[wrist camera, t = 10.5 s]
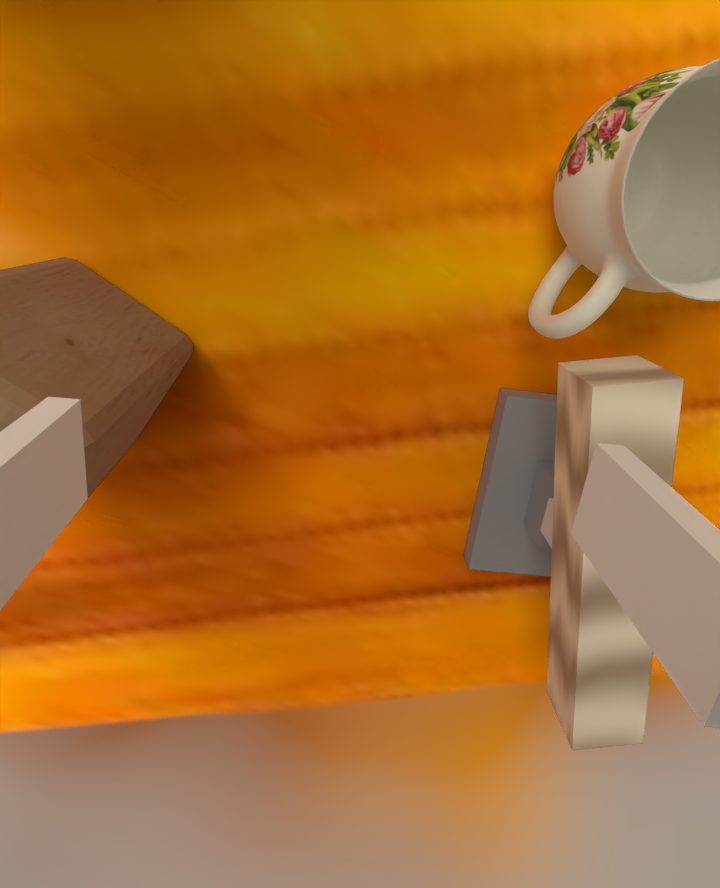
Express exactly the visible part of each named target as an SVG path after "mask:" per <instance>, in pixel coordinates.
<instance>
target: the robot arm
mask: <svg viewBox="0 0 720 888" xmlns="http://www.w3.org/2000/svg"><path fill="white" fill-rule="evenodd" d="M87 499H88V496H87V482H86V468H85V455H84V441H83V427H82V413H81V400H80V399H71V398H59V397H47V398H46V399H44V400H43V401H42V402H40V403H39V404H37V405H36V406H35V407H33V408H32V409H31V410H29V411H28V412H27V413H25V414H24V415H23V416H21V417H20V418H19V419H17V420H16V421H14V422H13V423H12V424H10V425H9V426H8V427H6V428H5V429H4V430H2V431H1V432H0V610H1V609H2V608H3V606H4V605H5V604H6V603H7V601H8V600H9V599H10V597H11V596H12V595H13V594H14V592H15V591H16V590H17V588H18V587H19V586H20V585H21V583H22V582H23V581H24V580H25V578H26V577H27V576H28V574H29V573H30V572H31V571H32V569H33V568H34V567H35V565H36V564H37V563H38V562H39V560H40V559H41V558H42V557H43V555H44V554H45V553H46V551H47V550H48V549H49V548H50V546H51V545H52V544H53V542H54V541H55V540H56V539H57V537H58V536H59V535H60V534H61V532H62V531H63V530H64V528H65V527H66V526H67V525H68V523H69V522H70V521H71V519H72V518H73V517H74V516H75V514H76V513H77V512H78V511H79V509H80V508H81V507H82V505H83V504H84V503H85V502H86V500H87ZM571 534H572V536H573V537H574V539H575V540H576V542H577V543H578V544H579V546H580V547H581V549H582V550H583V552H584V553H585V555H586V556H587V557H588V559H589V560H590V562H591V563H592V565H593V566H594V568H595V569H596V571H597V572H598V573H599V575H600V576H601V578H602V579H603V581H604V582H605V584H606V585H607V587H608V588H609V589H610V591H611V592H612V594H613V595H614V597H615V598H616V600H617V601H618V603H619V604H620V605H621V607H622V608H623V610H624V611H625V613H626V614H627V616H628V617H629V619H630V620H631V621H632V623H633V624H634V626H635V627H636V629H637V630H638V632H639V633H640V635H641V636H642V637H643V639H644V640H645V642H646V643H647V645H648V646H649V648H650V649H651V651H652V652H653V653H654V655H655V656H656V658H657V659H658V661H659V662H660V664H661V665H662V666H663V668H664V669H665V671H666V672H667V674H668V675H669V677H670V678H671V680H672V681H673V682H674V684H675V685H676V687H677V688H678V690H679V691H680V692H681V694H682V695H683V697H684V698H685V700H686V701H687V703H688V704H689V706H690V707H691V709H692V710H693V711H694V713H695V714H696V716H697V717H698V719H699V720H700V722H701V723H702V725H703V726H704V727H713V728H720V530H719V529H718V528H717V527H716V526H714V525H713V524H712V523H711V522H710V521H709V520H708V519H707V518H705V517H704V516H703V515H702V514H701V513H700V512H699V511H698V510H696V509H695V508H694V507H693V506H692V505H691V504H690V503H689V502H687V501H686V500H685V499H684V498H683V497H682V496H681V495H680V494H678V493H677V492H676V491H675V490H674V489H673V488H672V487H671V486H669V485H668V484H667V483H666V482H665V481H664V480H663V479H661V478H660V477H659V476H658V475H657V474H656V473H655V472H654V471H652V470H651V469H650V468H649V467H648V466H647V465H646V464H645V463H643V462H642V461H641V460H640V459H639V458H638V457H637V456H636V455H634V454H633V453H632V452H631V451H630V450H629V449H628V448H627V447H625V446H624V445H614V444H602V443H596V445H595V449H594V452H593V456H592V460H591V463H590V467H589V470H588V474H587V478H586V481H585V485H584V489H583V492H582V496H581V499H580V503H579V507H578V510H577V514H576V518H575V521H574V525H573V528H572V532H571Z"/></svg>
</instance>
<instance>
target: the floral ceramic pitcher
mask: <svg viewBox="0 0 720 888" xmlns="http://www.w3.org/2000/svg"><path fill="white" fill-rule="evenodd" d="M553 198H554V212H555V217H556V222H557V225H558V228H559V231H560V233H561V235H562V237H563V239H564V241H565V243H566V244H567V246H566V248H565V250H564V251H563V253H562V254H561V255H560V256H559V258H558V259H557V260H556V262H555V263H554V264H553V266H552V267H551V268H550V270H549V271H548V272H547V274H546V275H545V277H544V278H543V280H542V281H541V283H540V284H539V286H538V288H537V290H536V292H535V294H534V296H533V298H532V300H531V303H530V306H529V310H528V317H529V323H530V324H531V326H532V327H533V328H534V329H535V330H536V331H537V332H538V333H539V334H541V335H542V336H544V337H546V338H552V339H560V338H566V337H569V336H572V335H574V334H576V333H578V332H580V331H582V330H584V329H585V328H586V327H588V326H589V325H591V324H592V323H593V322H594V321H596V320H597V319H598V318H599V317H600V316H601V315H602V314H603V313H604V312H605V311H606V310H607V309H608V308H609V306H610V305H611V304H612V303H613V301H614V300H615V299H616V297H617V296H618V295H619V293H620V291H621V290H622V288H623V287H624V288H628V289H632V290H636V291H643V292H653V293H664V292H673V293H675V294H677V295H680V296H682V297H686V298H690V299H694V300H701V301H720V58H719V59H717V60H715V61H713V62H711V63H708V64H706V65H705V66H691V67H684V68H679V69H674V70H670V71H666V72H663V73H660V74H657V75H654V76H651V77H648V78H646V79H644V80H642V81H640V82H638V83H635V84H633V85H631V86H629V87H628V88H626V89H625V90H623V91H621V92H620V93H618V94H617V95H615V96H614V97H612V98H611V99H609V100H608V101H607V102H606V103H605V104H604V105H602V106H601V107H600V108H599V109H598V110H596V111H595V112H594V113H593V114H592V115H591V116H590V117H589V118H588V120H587V121H586V122H585V123H584V124H583V125H582V127H581V128H580V129H579V131H578V132H577V133H576V135H575V136H574V137H573V139H572V141H571V142H570V144H569V146H568V147H567V149H566V151H565V153H564V156H563V158H562V160H561V163H560V166H559V169H558V172H557V175H556V180H555V185H554V197H553ZM581 265H584V266H585V267H586V268H588V269H589V270H590V271H591V272H592V273H594V274H596V275H597V276H599V277H598V279H597V280H596V282H595V283H594V285H593V286H592V287H591V289H590V290H589V291H588V292H587V293H586V294H585V295H584V296H583V298H582V299H581V300H579V301H578V302H577V303H576V304H575V305H573V306H572V307H571V308H569V309H567V310H566V311H564V312H562V313H559V314H556V315H551V312H552V309H553V306H554V304H555V302H556V300H557V298H558V296H559V294H560V292H561V290H562V288H563V287H564V285H565V284H566V282H567V281H568V280H569V278H570V277H571V276H572V274H573V273H574V272H575V271H576V270H577V268H578V267H579V266H581Z"/></svg>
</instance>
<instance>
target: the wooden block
mask: <svg viewBox="0 0 720 888" xmlns="http://www.w3.org/2000/svg"><path fill="white" fill-rule="evenodd" d="M192 350H193V343H192V342H191V341H190V339H189V338H188V336H187V335H186V334H184V333H183V332H182V331H180V330H179V329H177V328H176V327H174V326H173V325H171V324H170V323H168V322H167V321H165V320H164V319H162V318H161V317H159V316H158V315H156V314H155V313H153V312H152V311H151V310H149V309H148V308H146V307H145V306H143V305H142V304H140V303H139V302H137V301H136V300H134V299H133V298H131V297H130V296H128V295H127V294H125V293H124V292H122V291H121V290H119V289H118V288H117V287H115V286H114V285H112V284H111V283H109V282H108V281H106V280H105V279H103V278H102V277H100V276H99V275H97V274H96V273H94V272H93V271H91V270H90V269H88V268H87V267H86V266H84V265H83V264H81V263H80V262H78V261H77V260H73V259H68V258H59V259H54V260H49V261H44V262H39V263H34V264H28V265H23V266H18V267H13V268H8V269H3V270H0V432H1V431H2V430H4V429H5V428H6V427H8V426H9V425H10V424H12V423H13V422H14V421H16V420H17V419H19V418H20V417H21V416H23V415H24V414H25V413H27V412H28V411H29V410H31V409H32V408H33V407H35V406H36V405H37V404H39V403H40V402H42V401H43V400H44V399H46V398H47V397H59V398H71V399H80V400H81V413H82V427H83V441H84V455H85V468H86V482H87V496H88V497H89V496H90V495H91V494H92V492H93V491H94V490H95V489H96V488H97V487H98V485H99V484H100V483H101V482H102V481H103V479H104V478H105V477H106V476H107V475H108V474H109V472H110V471H111V470H112V469H113V468H114V466H115V465H116V464H117V463H118V462H119V461H120V459H121V458H122V457H123V456H124V455H125V453H126V452H127V451H128V450H129V449H130V447H131V446H132V445H133V444H134V442H135V441H136V439H137V438H138V436H139V435H140V433H141V432H142V430H143V429H144V427H145V425H146V424H147V422H148V421H149V419H150V418H151V416H152V415H153V413H154V412H155V410H156V409H157V407H158V406H159V404H160V403H161V401H162V400H163V398H164V397H165V395H166V394H167V392H168V391H169V389H170V387H171V386H172V384H173V383H174V381H175V380H176V378H177V377H178V375H179V374H180V372H181V371H182V369H183V368H184V366H185V365H186V363H187V362H188V360H189V359H190V357H191V356H192Z"/></svg>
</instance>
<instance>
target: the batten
mask: <svg viewBox="0 0 720 888" xmlns="http://www.w3.org/2000/svg"><path fill="white" fill-rule="evenodd" d="M683 383H684V378H682V377H680V376H678V375H676V374H674V373H672V372H670V371H668V370H666V369H664V368H662V367H660V366H658V365H656V364H654V363H652V362H650V361H648V360H646V359H644V358H642V357H640V356H638V355H633V356H622V357H612V358H601V359H590V360H579V361H569V362H558V384H557V413H556V442H555V472H554V501H553V530H552V559H551V588H550V618H549V647H548V676H547V693H548V696H549V698H550V700H551V702H552V705H553V707H554V709H555V711H556V714H557V716H558V719H559V721H560V723H561V726H562V728H563V730H564V732H565V735H566V737H567V739H568V741H569V744H570V746H571V748H572V750H582V749H593V748H602V747H613V746H625V745H635V744H643V737H644V729H645V719H646V711H647V702H648V693H649V685H650V676H651V667H652V658H653V652H652V651H651V649H650V648H649V646H648V645H647V643H646V642H645V640H644V639H643V637H642V636H641V635H640V633H639V632H638V630H637V629H636V627H635V626H634V624H633V623H632V621H631V620H630V619H629V617H628V616H627V614H626V613H625V611H624V610H623V608H622V607H621V605H620V604H619V603H618V601H617V600H616V598H615V597H614V595H613V594H612V592H611V591H610V589H609V588H608V587H607V585H606V584H605V582H604V581H603V579H602V578H601V576H600V575H599V573H598V572H597V571H596V569H595V568H594V566H593V565H592V563H591V562H590V560H589V559H588V557H587V556H586V555H585V553H584V552H583V550H582V549H581V547H580V546H579V544H578V543H577V542H576V540H575V539H574V537H573V536H572V534H571V532H572V528H573V525H574V521H575V518H576V514H577V510H578V507H579V503H580V499H581V496H582V492H583V489H584V485H585V481H586V478H587V474H588V470H589V467H590V463H591V460H592V456H593V452H594V449H595V445H596V443H602V444H614V445H624V446H625V447H627V448H628V449H629V450H630V451H631V452H632V453H633V454H634V455H636V456H637V457H638V458H639V459H640V460H641V461H642V462H643V463H645V464H646V465H647V466H648V467H649V468H650V469H651V470H652V471H654V472H655V473H656V474H657V475H658V476H659V477H660V478H661V479H663V480H664V481H665V482H666V483H667V484H668V485H669V486H671V487H672V481H673V472H674V463H675V454H676V445H677V436H678V427H679V418H680V410H681V401H682V392H683Z"/></svg>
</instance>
